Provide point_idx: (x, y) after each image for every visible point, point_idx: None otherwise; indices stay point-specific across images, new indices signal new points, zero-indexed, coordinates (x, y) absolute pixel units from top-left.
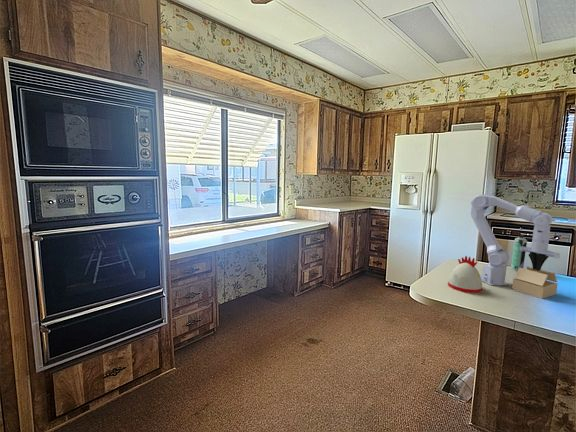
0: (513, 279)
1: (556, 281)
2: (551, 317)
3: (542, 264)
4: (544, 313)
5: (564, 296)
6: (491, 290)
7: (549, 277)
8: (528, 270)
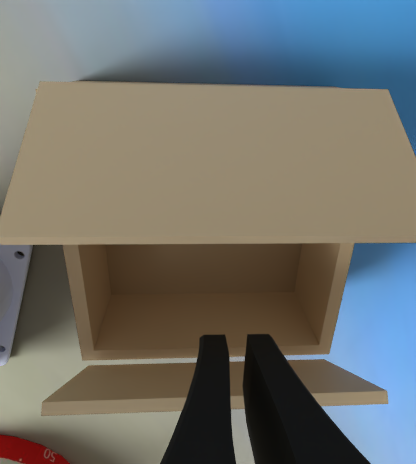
0: (87, 354)
1: (386, 111)
2: (400, 460)
3: (321, 419)
4: (370, 451)
5: (394, 74)
6: (80, 420)
7: (323, 143)
8: (169, 409)
